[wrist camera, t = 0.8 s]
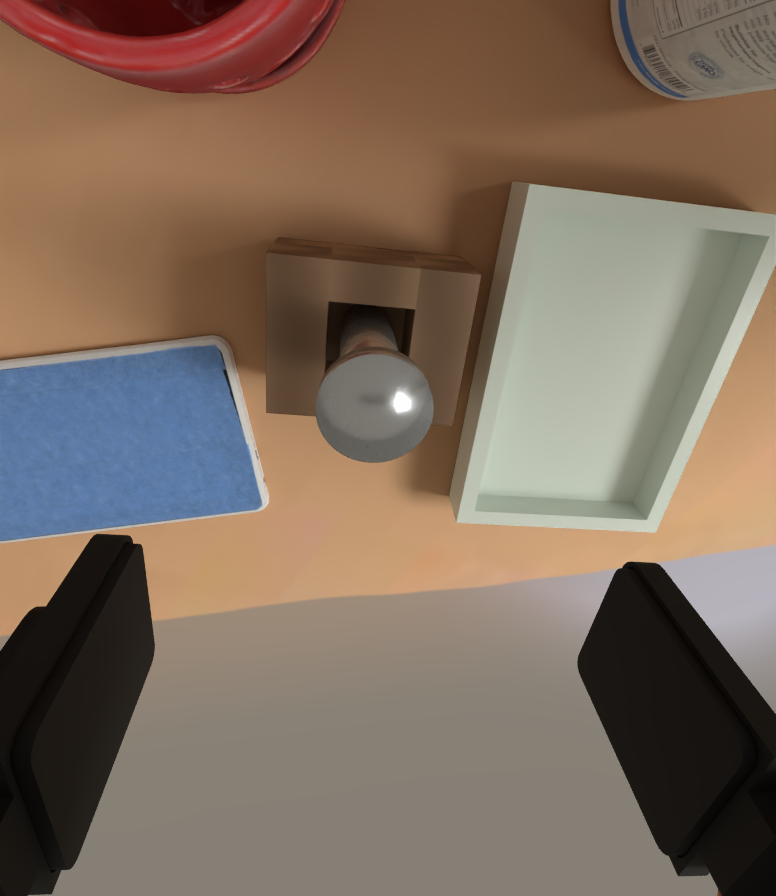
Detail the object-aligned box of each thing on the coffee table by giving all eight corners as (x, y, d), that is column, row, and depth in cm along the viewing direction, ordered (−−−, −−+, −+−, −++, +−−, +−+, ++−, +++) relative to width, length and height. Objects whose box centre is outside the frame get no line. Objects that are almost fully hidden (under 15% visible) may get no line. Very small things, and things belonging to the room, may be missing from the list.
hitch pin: (410, 291, 28) (442, 360, 19) (400, 367, 30) (424, 465, 21) (328, 283, 28) (318, 350, 18) (324, 361, 30) (313, 459, 20)
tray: (512, 181, 27) (529, 183, 25) (756, 211, 29) (797, 217, 26) (448, 496, 37) (456, 522, 34) (634, 507, 38) (655, 532, 36)
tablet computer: (229, 330, 31) (224, 336, 30) (273, 503, 37) (271, 515, 36) (-101, 368, 30) (-118, 376, 29) (-1, 536, 37) (-12, 548, 36)
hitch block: (461, 257, 29) (481, 275, 25) (438, 390, 33) (452, 426, 28) (278, 237, 28) (266, 252, 24) (277, 377, 32) (266, 412, 27)
